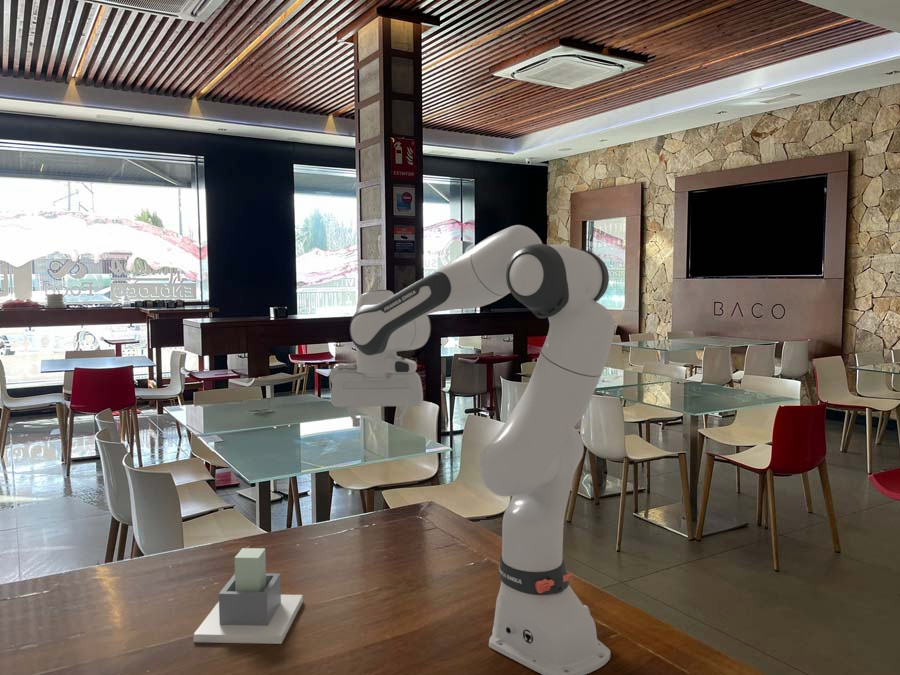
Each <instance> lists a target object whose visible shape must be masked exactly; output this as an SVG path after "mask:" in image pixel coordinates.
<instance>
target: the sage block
mask: <svg viewBox="0 0 900 675" xmlns="http://www.w3.org/2000/svg"><path fill="white" fill-rule="evenodd" d="M266 556H267V554H266V548H258V547H257V548H255V547H254V548H253V547H252V548H250V547H249V548H248V547H242V548H241V549H240V550H239V552H238V553H237V554H236V555H235V556H234V574H235V591H236V592H264V590H265V589H266V573H267V564H266V562H267V561H266V560H267V559H266Z"/></svg>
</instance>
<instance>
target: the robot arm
mask: <svg viewBox="0 0 900 675" xmlns="http://www.w3.org/2000/svg"><path fill="white" fill-rule="evenodd" d="M609 281H610V276H609V271H608V268H607V265H606V264H605V262H604V261H603V260H602V258H600V257H599V255H596V254H595V253H593V252H591V251H589V250H587V249H582V248H581V249H580V248H575V247H572V246H571V247H570V246H569V245H564V244H547V243H546V244H545V243H543V241H542V240H541V238H540V237H539V236H538V234H537V233H536V232H535V231H534V230H533V229H531V228H530V227H528V226H525V225H522V224H515V225H511V226H509V227H506V228H504V229H502V230H499V231H498V232H496V233H493V234H492V235H489V236H487V237H486V238H485V239H483V240H481V241H480V242H478V243H477V244H476V245H474V246H473V247H471V248H470V249H468V250H467V251H465V252H464V253H462V254H461V255H459V256H458V257H456V258H455V259H453V260H452V261H450V262H448V263H447V264H446V265H443V266H442V267H440V268H438V269H437V270H435V271H433V272H432V273H431V274H428V275H426V276H425V277H423V278H420V279H419V280H417V281H415V282H414V283H412V284H410V285H409V286H406V287H405V288H403V289H402V290H400V291H399V292H396V293H395V294H394V292H393V291H391V290H390V289H389V290H388V289H376V290H369V291H368V290H367V291H365V292H363V293H362V294H360V295H359V297H358V300H357V303H356V309H355V310H356V311H355V313H354V314H353V315H352V318H351V320H350V323H349V330H348V331H349V335H350V340H351V341H352V343H353V345H354V346H355V348H356V349H355V350H356V353H355V356H356V361H355V362H356V363H350V364H336V365H335V366H333V367H332V368H330V371H329V380H330V383H331V391H330V392H331V393H330V402H331V405H332V406H333V407H336V408H337V407H338V408H340V407H341V408H343V407H346V410H347V413H348V415H349V417H350V418H351V420H352V428H360V427H361V417H357V416H356V414H355V412H354V411H355V410H356V407H399V410H400V412H401V413H400V415H399V417H397V416H396V417H395V419H394V422H395V426H394V427H403V424H404V423H403V422H404V421H403V419H404V417H405V415H406V414H407V411H408V407H419V406H421V404H422V403H423V402H424V390H423V385H422V378H421V377H420V374H418V372H416V371H417V369H418V368H417V367H418V364H417V362H416V361H415V360H413V359H409V358H405V357H402V356H399V355H398V354H397V353H398V352H404V351H413V350H417V349H420V348H423V347H424V346H425V345H426V344H427V343H428V342H429V339H430V337H431V332H432V324H431V319H430V317H429V315H430V314H433V313H438V312H442V311H443V312H445V311H454V310H455V311H456V310H467V309H478V308H481V307H484V306H487V305H490V304H492V303H494V302H497V301H498V300H500V299H503V298H504V297H505V296H507V295H508V294H512V296H513V297H514V298H515V299H516V300H517V301H518V302H519V303H521V304H522V305H523V306H525V307H526V308H528V310H529V311H531V312H532V314H533V315H535V317H536V318H538V319H548V323H549V327H548V331H547V335H546V337H545V341H544V344H543V345H542V348H541V351H540V353H539V356H538V358H537V361H536V363H535V366H534V368H533V371H532V373H531V376H530V378H529V382H528V384H527V386H526V388H525V390H524V392H523V394H522V395H521V397H520V399H519V400H518V402H517V404H516V405H515V406H514V408H513V410H512V411H511V413H510V414H509V416H508V418H507V419H506V421H505V422H504V424H503V425H502V427H501V429H500V430H499V431H498V432H497V434H496V435H495V436H494V438H493V439H492V440H491V441H490V442H488V444H487V445H486V446H484V448H483V449H482V451H481V453H480V455H479V459H478V470H479V475H480V479H481V480H482V482H483V484H484V485H485V487H486V488H487V489H488V490H489V491H490V492H491V493H493V494H495V495H497V496H501V497H511V499H510V501H509V503H508V506H507V507H506V509H505V511H504V513H503V516H502V530H501V532H502V533H501V534H502V536H501V538H502V542H501V545H502V548H501V555H500V559H499V564H498V571H499V573H498V574H499V576H498V577H499V579H500V586H499V591H498V593H497V597H496V602H495V611H494V619H493V620H494V621H493V626H492V629H491V630H492V631H491V632H492V634H491V636H490V637H489V641H488V647H489V648H490V649H492V650H494V651H496V652H498V653H500V654H501V655H504V656H506V657H507V658H509V659H512V660H513V661H515V662H517V663H519V664H521V665H523V666H525V667H526V668H529V669H530V670H533V671H534V672H537V673H539V674H541V675H587V674H590V673H592V672H594V671H596V670H599V669H600V668H602V667H603V666H605V665H606V664H607V663H608V661H610V659H611V657H612V656H611V653H612V652H611V650H610V649H609V647H607V646H606V645H605V644H604V643H603V642H601V641H600V640H599V639H598V636H597V628H596V623H595V620H594V618H593V616H592V615H591V611H590V608H589V606H587V605H585V604H583V603H582V601H581V600H580V598H579V597H578V596H577V594H576V593H575V591H573V589H572V587H571V586H570V581H571V580H573V579H574V578H573V577H572V576H573V575H574V573H573V572H570V573H568V571H567V566H566V563H565V560H564V558H563V553H564V552H563V551H564V550H563V548H564V547H563V544H564V522H565V515H566V510H567V506H568V501H569V497H570V493H571V488H572V484H573V480H574V476H575V473H576V471H577V468H578V466H579V464H580V462H581V460H582V458H583V457H584V456H583V455H584V452H585V450H584V449H585V448H584V441H583V438H582V436H581V434H580V433H579V431H578V430H577V429H576V428H575V426H576V425H577V424H578V423H579V422H580V421H581V419H582V418H583V417H584V416H585V414H586V412H587V410H588V408H589V405H590V403H591V401H592V398H593V396H594V393H595V390H596V389H597V385H598V383H599V381H600V379H601V377H602V373H603V372H604V370H605V367H606V365H607V364H606V363H607V361H608V357H609V355H610V350H611V347H612V342H613V338H614V335H615V329H616V324H615V323H616V322H615V318H614V315H613V314H612V313H611V311H610V310H609V309H607V307H605V306H604V305H603V304H601V303H600V302H598V301H600V299H601V298H603V296H604V295H605V293H607V290H608V286H609V284H610V282H609Z"/></svg>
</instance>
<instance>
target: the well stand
mask: <svg viewBox="0 0 900 675" xmlns="http://www.w3.org/2000/svg"><path fill="white" fill-rule="evenodd" d="M281 586H282V585H281V573H276V572H275V573H274V572H273V573H271V572H270V573H267V572H266V589H265V590H264V592H236V591H235V573H233V575H232V576H231V577H230V579H229V580H228V581H227V583H225V585H224V586H223V588H221V590H220V591H219V593H218V602H216V604H215V606H214V607H213V608H212V609H211V611H210V612H209V613H208V615H207V616H206V617H205V619H203V621H202V623H201V624H200V625H199V626H198V628H197V629H196V630H195V631H194V633H193V637H192V638H193V643H213V644H214V643H215V644H216V643H217V644H219V643H222V644H226V643H227V644H267V645H268V644H275V645H276V644H279V645H281V644H282V643H283V641H284V639H285V638H286V636H287V633H288V632H289V630H290V628H291V626H292V624H293V622H294V620H295V618H296V616H297V614H298V612H299V611H300V609H301V606H302V605H303V602H304V601H303V600H304V598H303V597H304V596H303V594H281V593H282V592H281V590H282V588H281Z"/></svg>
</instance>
